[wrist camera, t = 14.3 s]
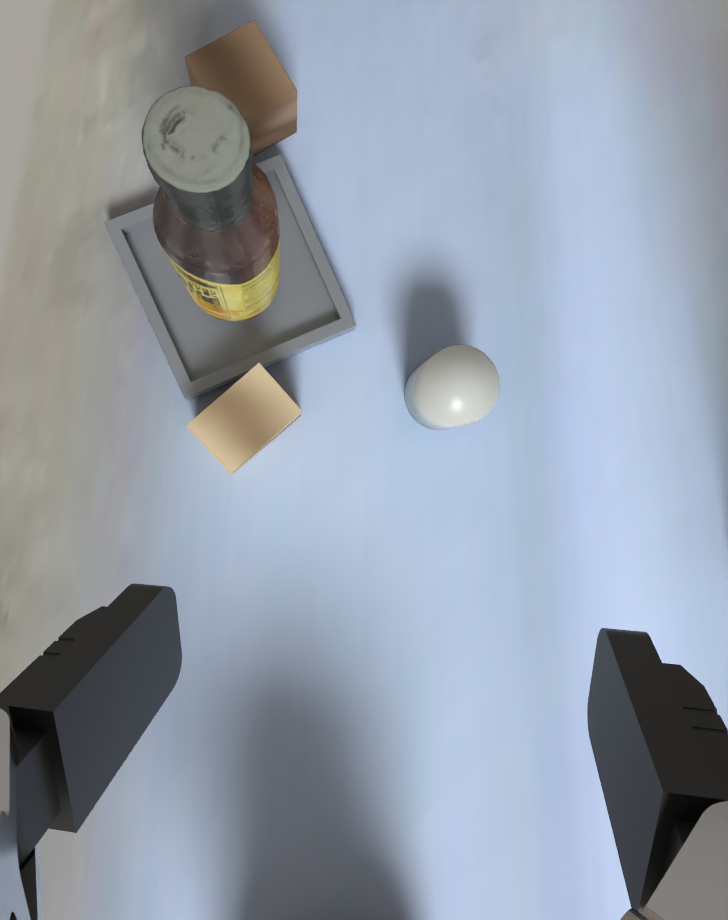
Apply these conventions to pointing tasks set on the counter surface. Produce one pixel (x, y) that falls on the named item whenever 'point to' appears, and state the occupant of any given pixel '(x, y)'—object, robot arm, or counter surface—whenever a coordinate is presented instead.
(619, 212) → the counter surface
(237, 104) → the walnut block
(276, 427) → the oak block
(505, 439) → the counter surface
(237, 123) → the sauce bottle
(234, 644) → the counter surface
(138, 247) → the tray
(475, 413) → the white rounded cylinder
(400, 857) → the counter surface
